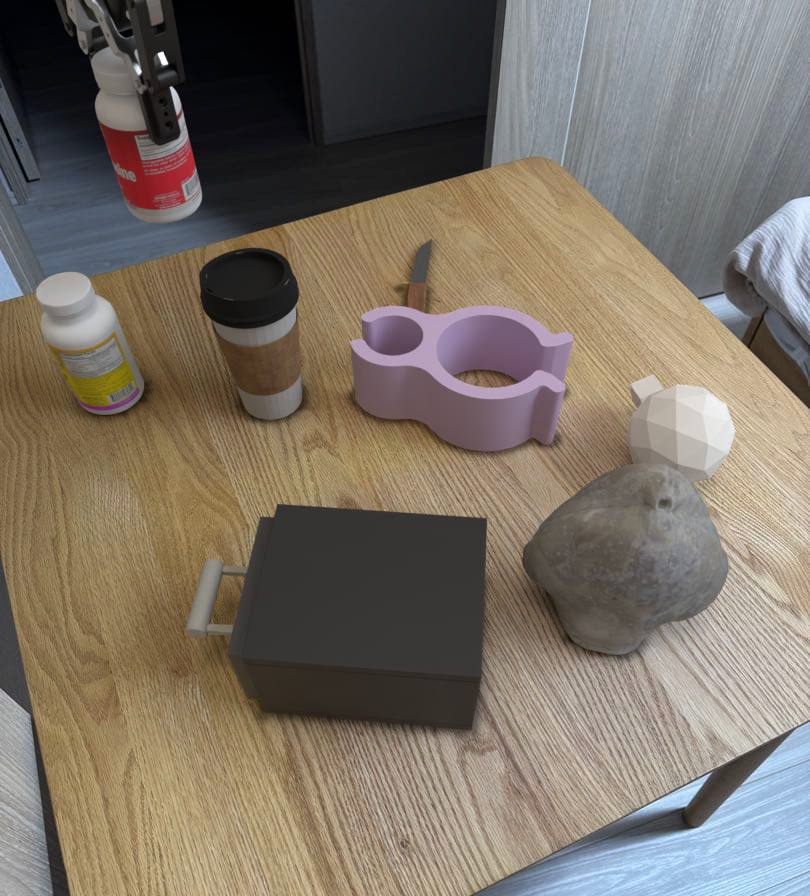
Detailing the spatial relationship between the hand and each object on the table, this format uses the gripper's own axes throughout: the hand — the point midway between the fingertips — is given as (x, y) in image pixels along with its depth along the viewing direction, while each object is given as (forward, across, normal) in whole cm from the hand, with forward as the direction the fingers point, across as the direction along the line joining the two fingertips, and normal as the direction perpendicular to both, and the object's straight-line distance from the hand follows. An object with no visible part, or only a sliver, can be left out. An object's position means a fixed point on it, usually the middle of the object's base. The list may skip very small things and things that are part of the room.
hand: (142, 121), depth 56 cm
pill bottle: (+7, 0, 0) cm, 7 cm away
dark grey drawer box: (+25, -35, +7) cm, 44 cm away
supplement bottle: (+26, +4, +9) cm, 28 cm away
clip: (+25, -19, -16) cm, 36 cm away
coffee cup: (+25, -7, -2) cm, 26 cm away
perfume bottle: (+25, -38, -26) cm, 52 cm away
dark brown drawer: (+24, -32, +10) cm, 41 cm away
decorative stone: (+25, -44, -10) cm, 52 cm away
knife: (+25, -4, -24) cm, 35 cm away
